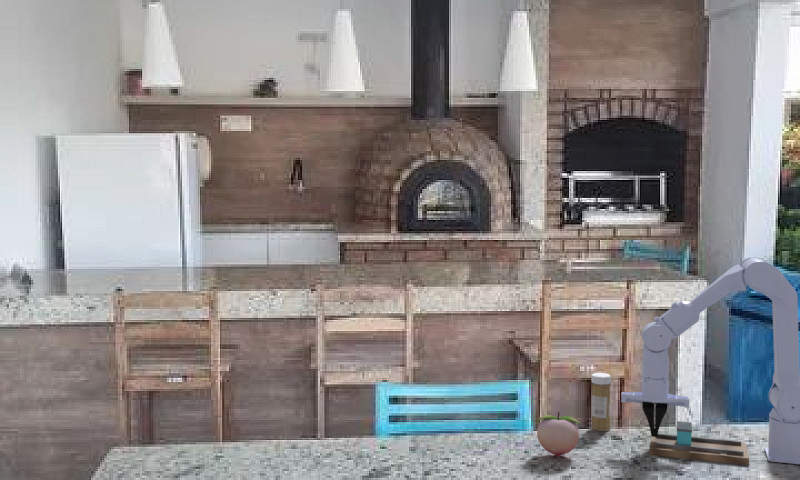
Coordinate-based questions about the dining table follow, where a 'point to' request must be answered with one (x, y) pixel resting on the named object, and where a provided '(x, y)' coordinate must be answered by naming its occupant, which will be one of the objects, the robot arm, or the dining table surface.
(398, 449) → the dining table surface
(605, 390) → the sprinkles bottle
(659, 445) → the fader console
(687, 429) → the fader tab
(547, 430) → the decorative fruit
